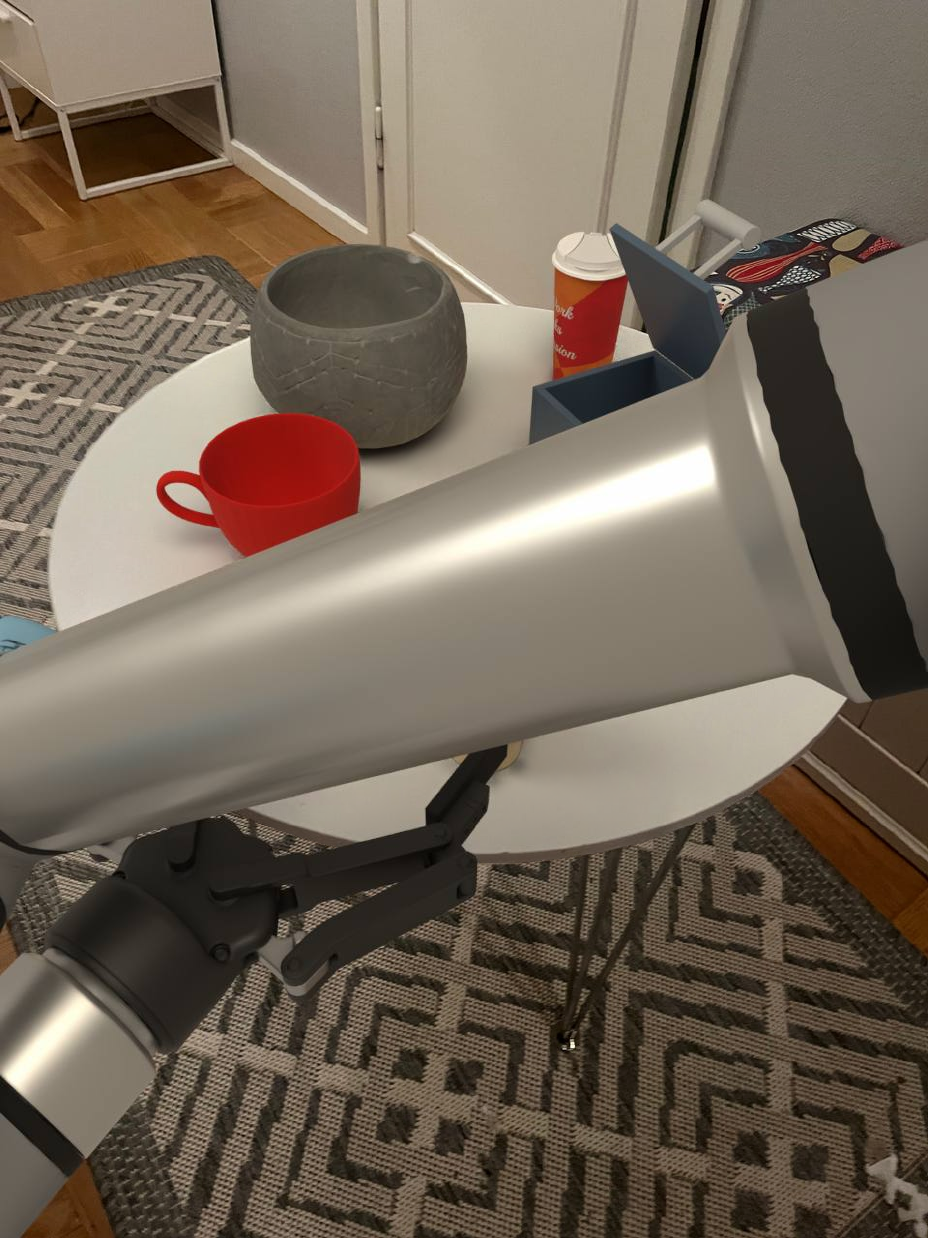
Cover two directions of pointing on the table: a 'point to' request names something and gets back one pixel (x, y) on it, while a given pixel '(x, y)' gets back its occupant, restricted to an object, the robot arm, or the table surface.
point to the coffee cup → (586, 302)
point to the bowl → (360, 341)
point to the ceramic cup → (272, 480)
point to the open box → (599, 392)
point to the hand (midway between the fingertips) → (397, 682)
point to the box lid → (682, 287)
